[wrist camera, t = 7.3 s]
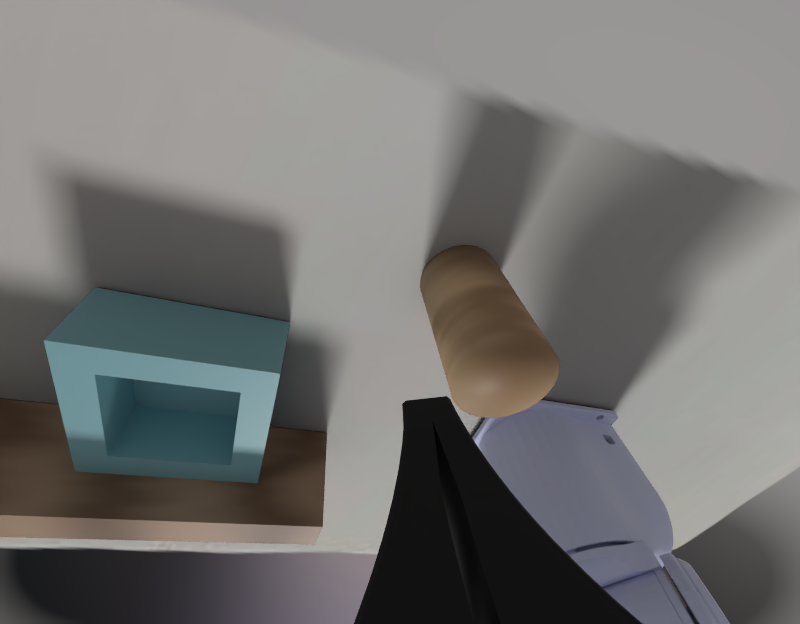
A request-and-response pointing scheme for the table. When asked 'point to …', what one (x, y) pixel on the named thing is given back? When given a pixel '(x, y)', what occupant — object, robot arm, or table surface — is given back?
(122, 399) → the socket block
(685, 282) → the table surface
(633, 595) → the robot arm
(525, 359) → the dowel
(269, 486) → the wall
